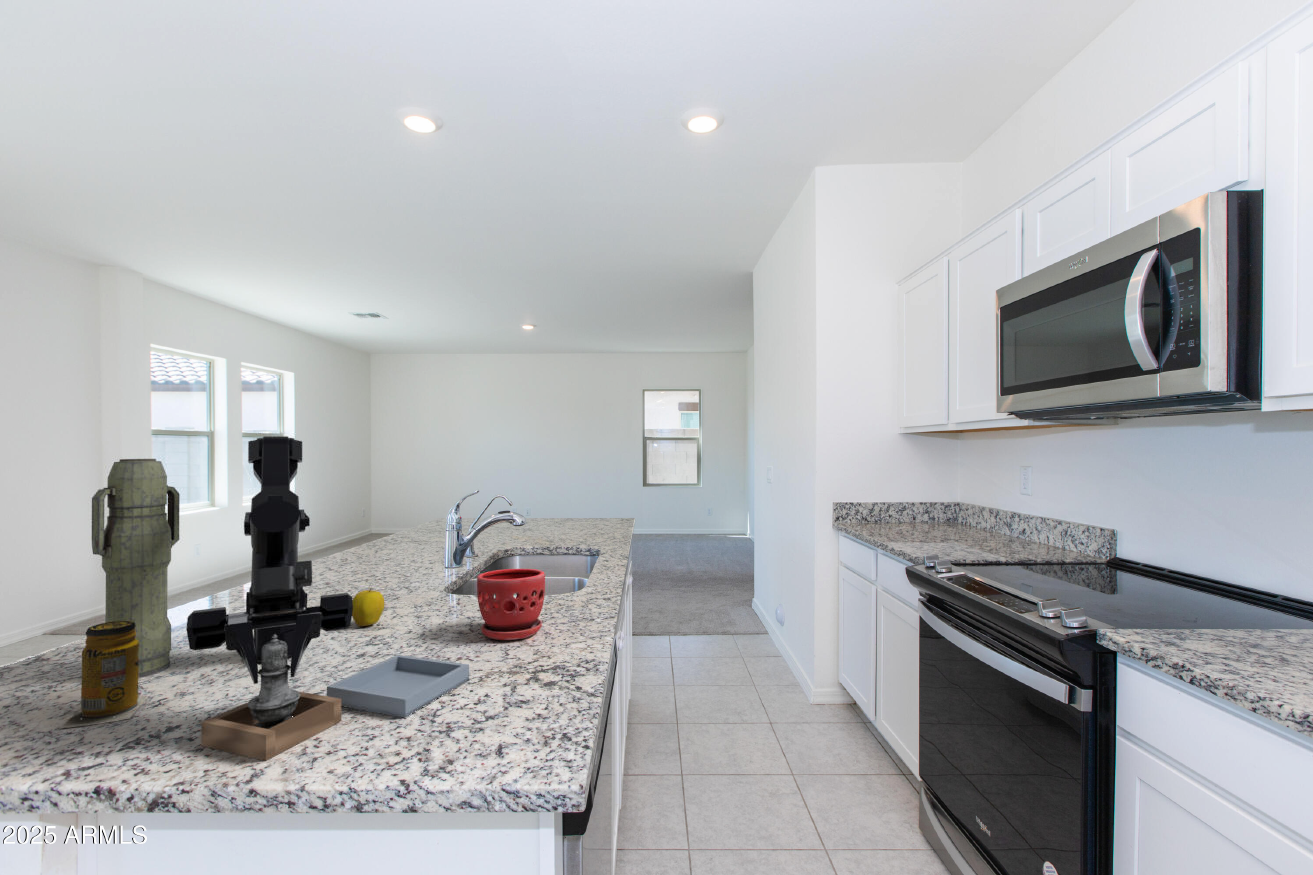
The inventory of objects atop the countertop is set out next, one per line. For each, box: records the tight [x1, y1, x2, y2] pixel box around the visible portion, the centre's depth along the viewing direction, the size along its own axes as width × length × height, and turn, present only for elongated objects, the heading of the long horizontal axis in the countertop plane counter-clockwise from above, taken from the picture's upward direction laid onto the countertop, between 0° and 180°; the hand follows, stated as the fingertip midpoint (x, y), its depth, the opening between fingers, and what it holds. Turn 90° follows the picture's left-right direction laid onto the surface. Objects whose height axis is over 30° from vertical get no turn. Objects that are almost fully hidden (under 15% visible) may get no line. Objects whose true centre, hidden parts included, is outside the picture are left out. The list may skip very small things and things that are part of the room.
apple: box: [352, 587, 386, 627], centre depth 126 cm, size 6×6×8 cm
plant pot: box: [476, 568, 546, 641], centre depth 121 cm, size 13×13×12 cm
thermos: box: [91, 458, 181, 678], centre depth 102 cm, size 9×12×35 cm
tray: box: [326, 654, 470, 718], centre depth 92 cm, size 14×14×2 cm
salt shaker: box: [247, 634, 301, 729], centre depth 79 cm, size 6×6×12 cm
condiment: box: [59, 620, 150, 729], centre depth 85 cm, size 7×8×12 cm
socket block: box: [200, 691, 342, 762], centre depth 79 cm, size 11×11×3 cm
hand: (274, 678), depth 78 cm, fingers closed on salt shaker, 4 cm apart
